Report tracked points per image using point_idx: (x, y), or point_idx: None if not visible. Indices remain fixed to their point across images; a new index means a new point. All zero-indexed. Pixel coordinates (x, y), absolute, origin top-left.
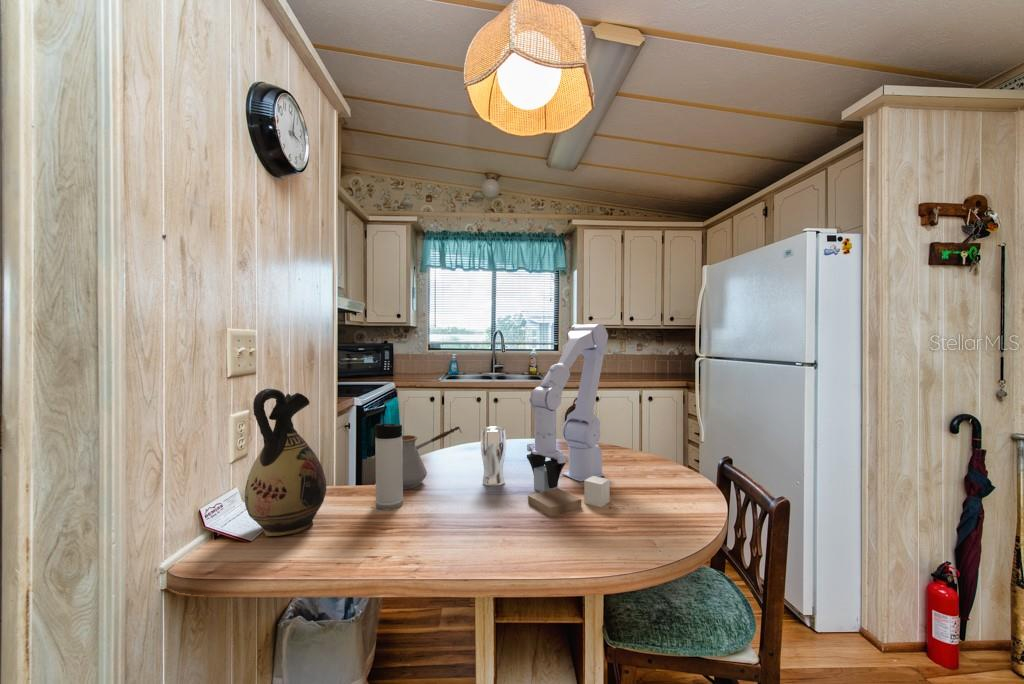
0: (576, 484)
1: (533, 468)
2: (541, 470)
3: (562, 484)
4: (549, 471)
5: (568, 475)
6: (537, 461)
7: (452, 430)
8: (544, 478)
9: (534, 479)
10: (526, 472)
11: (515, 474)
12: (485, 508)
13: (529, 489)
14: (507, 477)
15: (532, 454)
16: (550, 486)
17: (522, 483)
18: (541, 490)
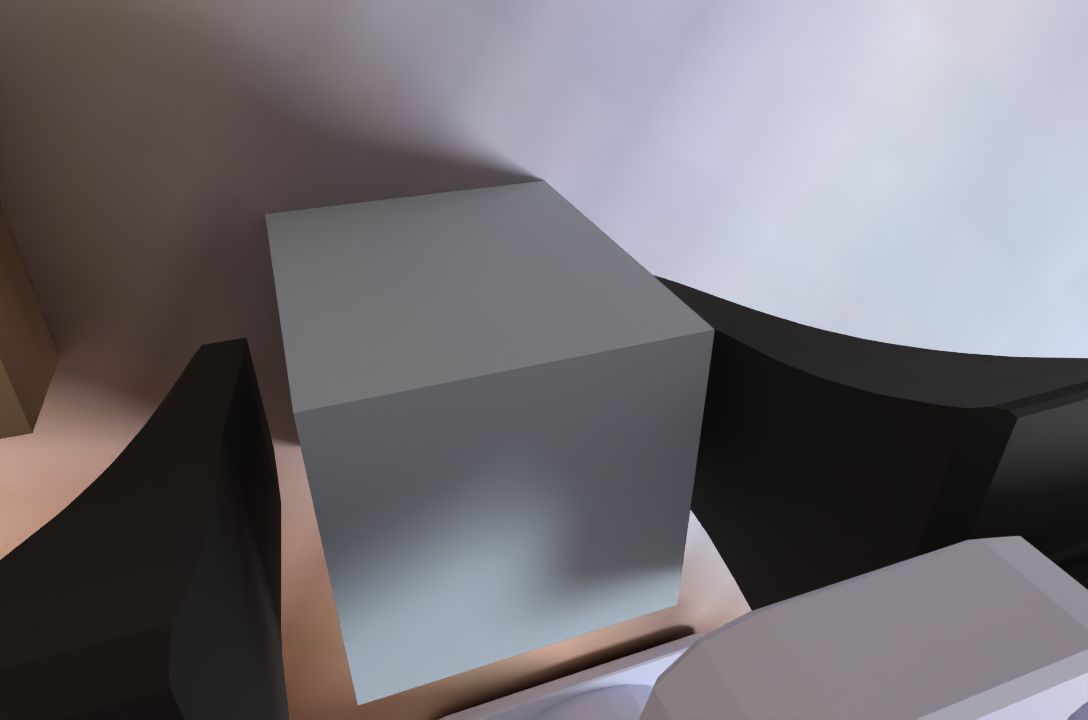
0: None
1: (758, 339)
2: (469, 414)
3: None
4: (58, 541)
5: (612, 674)
6: (814, 506)
7: None
8: (287, 346)
9: (588, 236)
10: (989, 351)
11: (1047, 213)
12: None
13: (546, 92)
14: (1069, 62)
15: (1064, 535)
16: (195, 357)
17: (793, 130)
18: (347, 215)
